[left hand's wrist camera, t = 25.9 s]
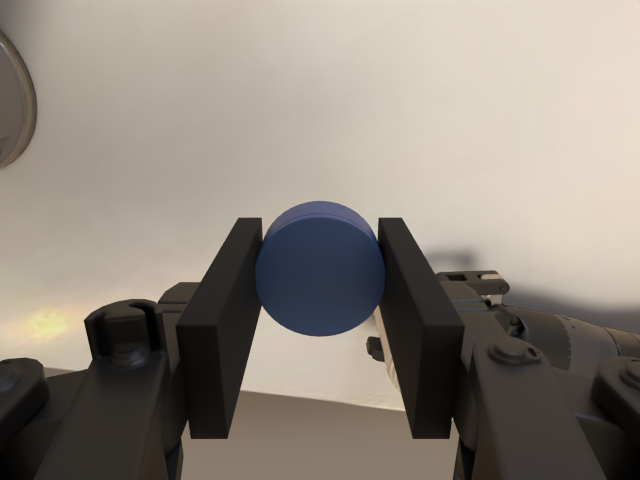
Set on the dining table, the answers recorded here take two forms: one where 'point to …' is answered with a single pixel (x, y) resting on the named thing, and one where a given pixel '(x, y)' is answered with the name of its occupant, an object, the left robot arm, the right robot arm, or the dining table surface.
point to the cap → (320, 269)
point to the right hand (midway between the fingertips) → (376, 321)
